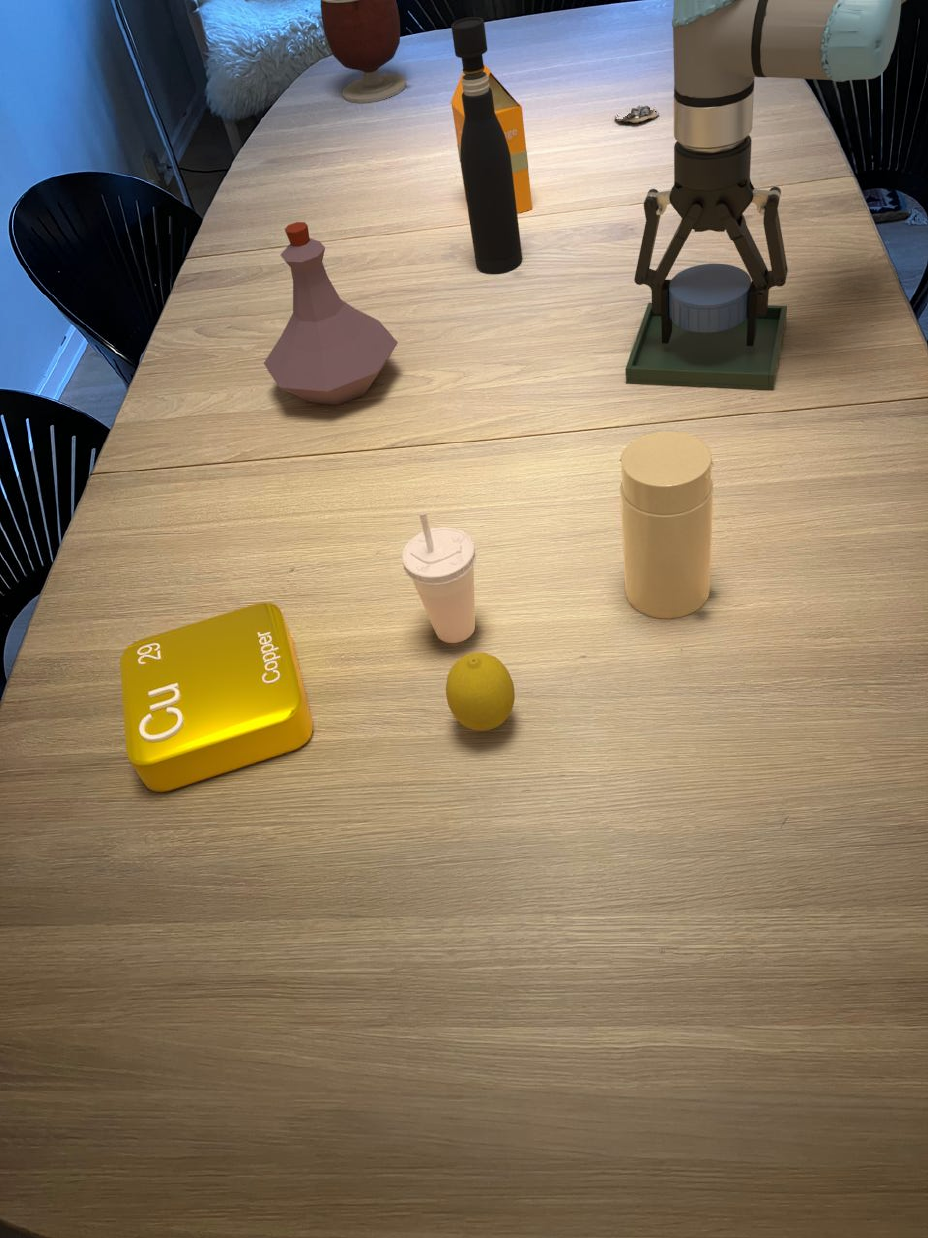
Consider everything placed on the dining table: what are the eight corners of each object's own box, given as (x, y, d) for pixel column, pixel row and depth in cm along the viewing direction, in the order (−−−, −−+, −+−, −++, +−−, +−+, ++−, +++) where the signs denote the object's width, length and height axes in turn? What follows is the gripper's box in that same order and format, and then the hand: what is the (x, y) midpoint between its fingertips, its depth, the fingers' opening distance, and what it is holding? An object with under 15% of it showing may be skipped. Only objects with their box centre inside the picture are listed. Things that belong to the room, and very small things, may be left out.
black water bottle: (531, 260, 141) (505, 18, 119) (493, 278, 139) (460, 35, 117) (504, 246, 145) (474, 9, 123) (467, 263, 143) (430, 26, 121)
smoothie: (423, 605, 97) (394, 491, 87) (490, 600, 96) (469, 483, 87) (418, 656, 93) (387, 541, 83) (489, 651, 92) (466, 534, 82)
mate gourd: (338, 84, 201) (312, -33, 187) (408, 70, 200) (387, -48, 186) (340, 113, 190) (312, -9, 176) (414, 98, 190) (392, -25, 175)
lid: (662, 331, 114) (661, 304, 112) (676, 289, 120) (675, 262, 118) (745, 334, 112) (746, 305, 109) (755, 291, 117) (756, 263, 115)
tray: (786, 320, 121) (787, 305, 120) (773, 390, 112) (774, 374, 111) (648, 316, 126) (648, 302, 125) (626, 383, 117) (625, 368, 116)
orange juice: (512, 187, 157) (496, 45, 143) (533, 208, 151) (518, 62, 137) (464, 201, 156) (443, 59, 142) (483, 223, 150) (463, 78, 136)
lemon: (444, 741, 86) (428, 680, 80) (468, 691, 89) (453, 629, 84) (507, 755, 84) (494, 693, 78) (528, 704, 87) (518, 640, 82)
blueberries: (607, 124, 168) (607, 112, 167) (631, 105, 173) (630, 93, 171) (644, 128, 165) (644, 116, 164) (667, 108, 169) (667, 96, 168)
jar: (715, 564, 95) (720, 432, 85) (703, 623, 91) (706, 491, 80) (633, 556, 98) (628, 426, 87) (617, 613, 93) (609, 483, 82)
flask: (334, 439, 118) (287, 278, 104) (246, 397, 127) (192, 244, 113) (432, 369, 125) (401, 209, 111) (342, 333, 134) (303, 182, 120)
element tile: (318, 744, 88) (304, 709, 84) (145, 801, 86) (124, 767, 83) (289, 627, 98) (275, 591, 95) (135, 675, 97) (115, 641, 93)
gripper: (829, 117, 101) (809, 323, 117) (612, 125, 108) (621, 318, 124) (824, 150, 96) (804, 359, 112) (597, 156, 103) (609, 353, 119)
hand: (708, 338), depth 118 cm, fingers closed on lid, 9 cm apart
